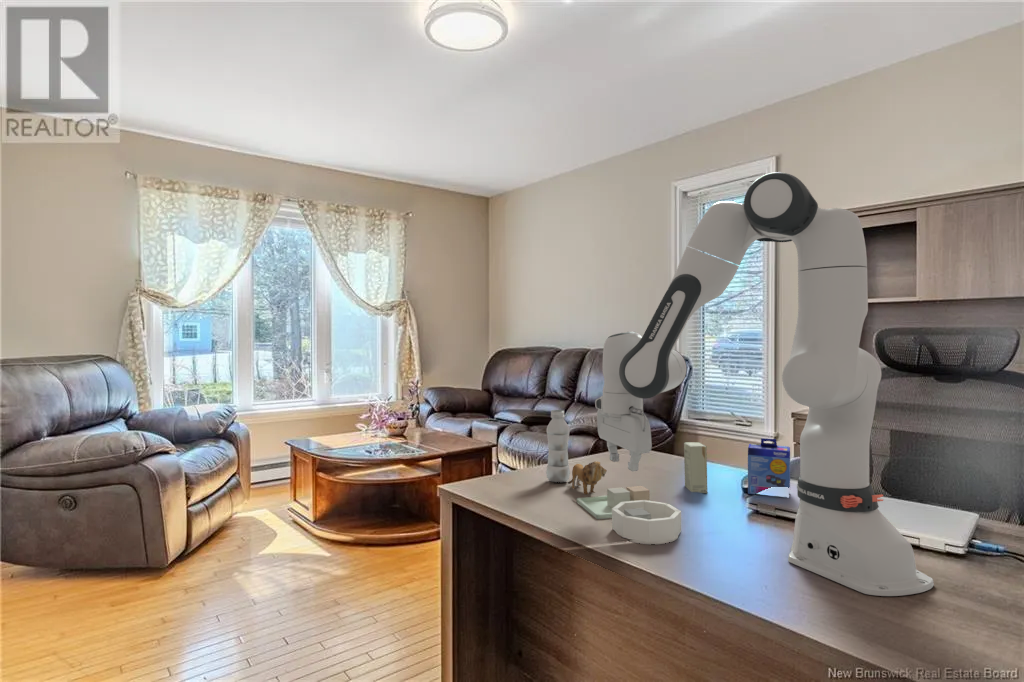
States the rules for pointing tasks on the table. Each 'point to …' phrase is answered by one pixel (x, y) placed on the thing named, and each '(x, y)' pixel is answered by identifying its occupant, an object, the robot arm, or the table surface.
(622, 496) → the pale grey cube
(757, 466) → the ink cartridge box
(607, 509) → the tray
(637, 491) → the tan cube
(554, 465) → the plastic bottle
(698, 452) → the skincare box
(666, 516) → the bowl
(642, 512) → the gray cube
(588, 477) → the lion figurine
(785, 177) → the robot arm
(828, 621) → the table surface
